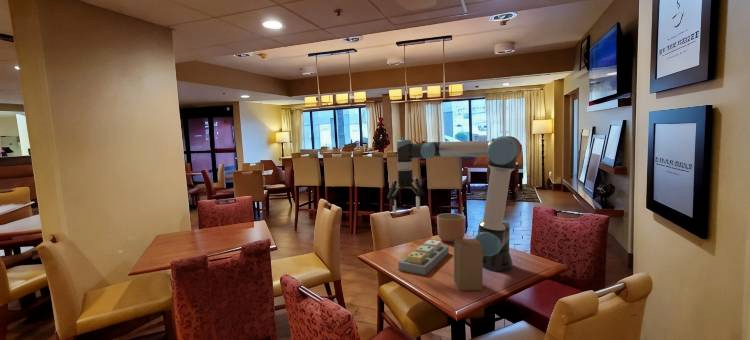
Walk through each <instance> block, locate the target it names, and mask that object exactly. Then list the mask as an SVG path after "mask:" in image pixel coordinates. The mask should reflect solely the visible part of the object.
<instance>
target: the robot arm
mask: <svg viewBox="0 0 750 340" xmlns="http://www.w3.org/2000/svg"><path fill="white" fill-rule="evenodd" d="M412 142H413V141H412V140H411V139H399V140H397V142H396V155H397V158H396V159H397V180H396V179H393V180H392V181H391V186H390V189H389V190H388V191H389V192H388V194H387V196H386V198H387V199H389V200H390V206H391V207H392V212H393V213H397V200H396V197H397V196H398V194H399V193H400V192H401V190H403V189H407V188H408V189H409V188H410V189H411V190H412V191H413V192H414V194H415V195H416V196H415V209H416V210H420V209H421V202H422V197H423V196H424V195H425V192H424V190H423V189H422V186H421V185H420V182H419V178H417V177H414V178H413V159H425V160H427V159H433V158H434V157H435V158H436V157H488V161H487V162H488V163H487V166H488V167H489V170H490V172H489V180H488V185H487V186H488V187H487V190H486V191H487V193H486V199H485V206H484V207H485V208H484V213H483V219H482V220H480V222H479V223H478V230H477V234H476V235H475V237H474V239H476V240H477V241H478V242H479V243H481V244H482V246H483V269H486V270H489V271H493V272H508V271H511V270H512V269H513V267H514V265H513V264H514V263H513V259H512V256H511V253H510V235H511V234H510V233H511V232H510V230H511V227H510V222H509V221H507V220H504V218H505V211H506V207H507V206H506V204H507V199H508V191H509V186H510V180H511V174H512V172H513V171H514V170H515V169H516V165H517V159H518V158H519V157H520V156H521V154H522V148H523V146H522V143H521V142H520V140H519V139H518V138H516V137H514V136H511V135H506V136H498V137H496V138H491V139H490V140H472V141H470V140H469V141H468V140H467V141H466V140H465V141H462V140H461V141H431V142H422V143H421V142H420V143H412ZM413 183H414V184H415V186H414V184H413Z"/></svg>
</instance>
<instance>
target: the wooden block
mask: <svg viewBox="0 0 750 340" xmlns="http://www.w3.org/2000/svg"><path fill="white" fill-rule="evenodd" d="M453 245H454V246H453V270H454V271H453V281H454V284H455V285H456V286H457V288H458V290H459V291H460V292H466V291H467V292H470V291H472V292H473V291H481V290H483V272H484V271H483V269H484V267H483V246H482V244H481V243H479V242H478V241H477V240H476V239H475V238H463V239H456V240H455V241H454V243H453Z"/></svg>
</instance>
